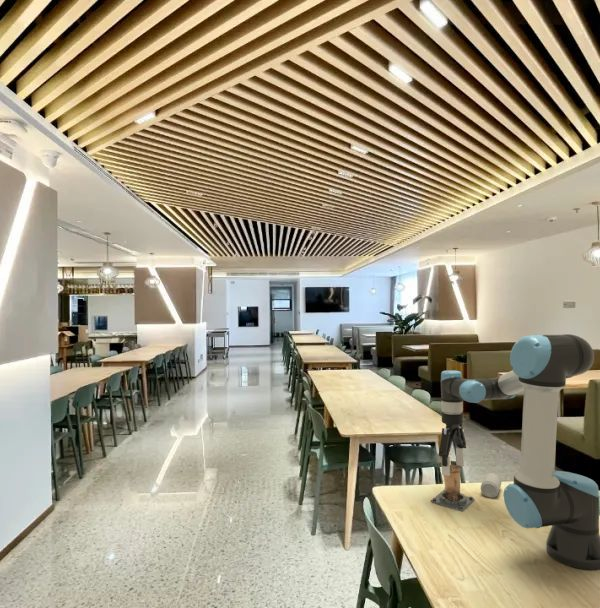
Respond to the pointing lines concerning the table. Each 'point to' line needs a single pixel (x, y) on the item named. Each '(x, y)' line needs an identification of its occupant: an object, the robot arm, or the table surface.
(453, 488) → the copper cylinder
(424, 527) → the table surface
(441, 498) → the flange
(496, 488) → the beverage can
